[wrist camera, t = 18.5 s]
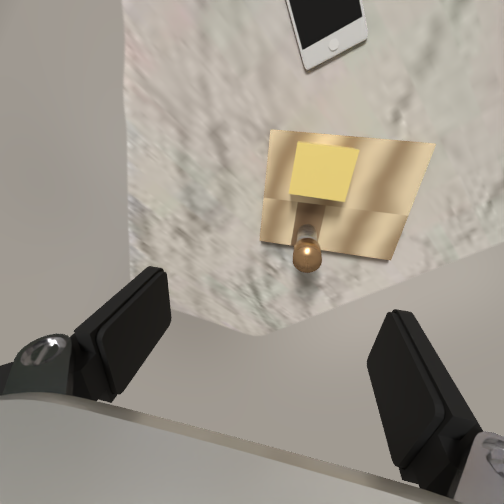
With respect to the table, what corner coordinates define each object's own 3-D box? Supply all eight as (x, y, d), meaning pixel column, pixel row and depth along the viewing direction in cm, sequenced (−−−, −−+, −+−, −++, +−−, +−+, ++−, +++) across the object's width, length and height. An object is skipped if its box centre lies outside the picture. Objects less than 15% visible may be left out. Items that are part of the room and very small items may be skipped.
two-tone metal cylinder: (318, 221, 36) (321, 246, 28) (318, 242, 37) (322, 272, 29) (294, 223, 36) (291, 248, 29) (296, 243, 38) (293, 272, 30)
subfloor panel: (431, 143, 30) (436, 143, 29) (388, 256, 37) (390, 260, 36) (271, 129, 33) (270, 129, 31) (260, 237, 40) (259, 240, 39)
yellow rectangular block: (353, 147, 31) (359, 149, 27) (340, 195, 33) (344, 203, 30) (298, 141, 31) (297, 142, 28) (289, 188, 34) (288, 194, 31)
